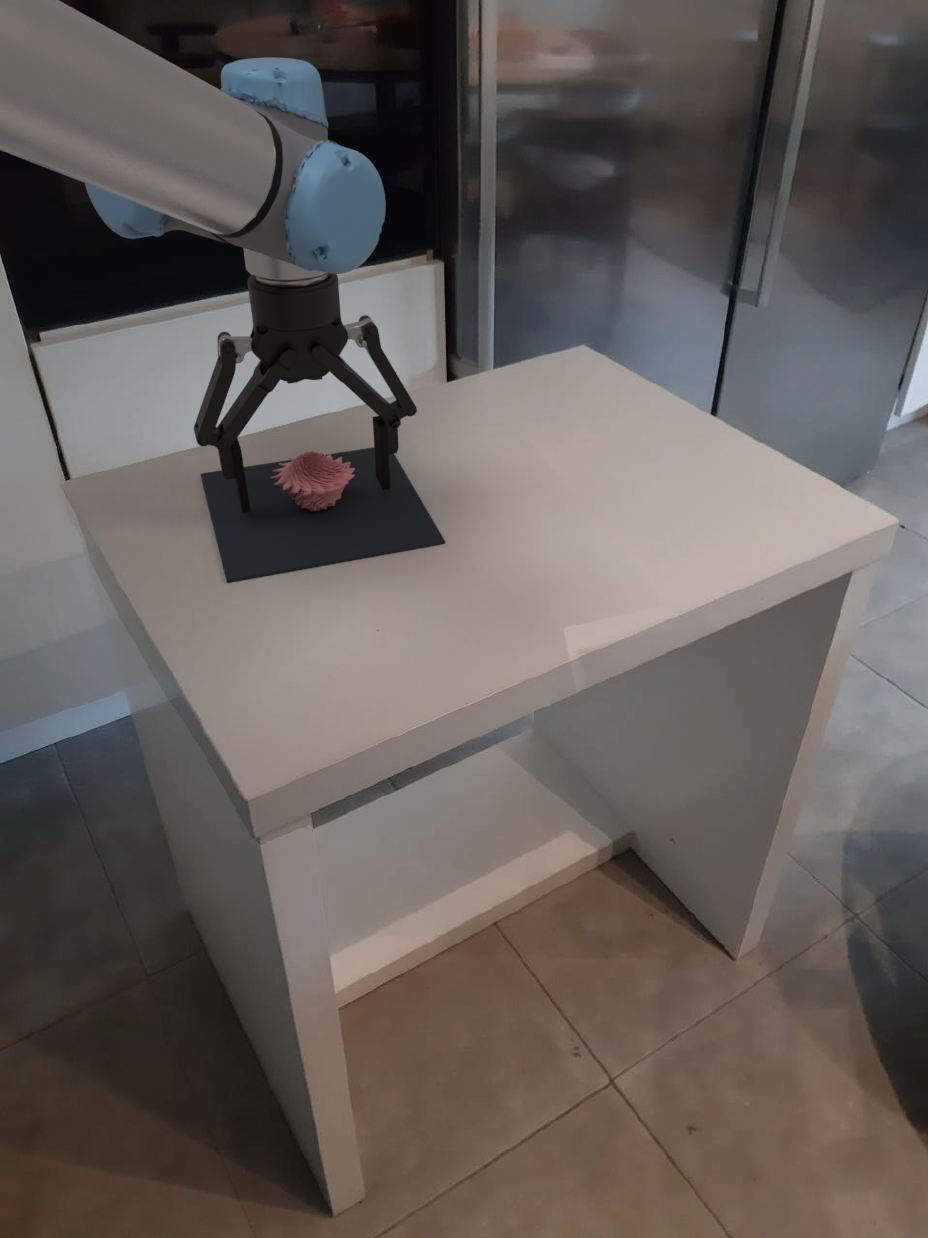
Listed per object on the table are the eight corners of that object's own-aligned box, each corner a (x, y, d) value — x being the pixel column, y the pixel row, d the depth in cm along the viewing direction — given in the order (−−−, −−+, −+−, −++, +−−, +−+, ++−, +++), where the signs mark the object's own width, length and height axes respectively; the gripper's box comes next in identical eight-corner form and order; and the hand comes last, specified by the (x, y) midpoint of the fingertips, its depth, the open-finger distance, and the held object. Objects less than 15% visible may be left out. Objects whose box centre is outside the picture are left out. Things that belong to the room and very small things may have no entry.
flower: (271, 528, 92) (263, 475, 89) (279, 485, 98) (273, 435, 95) (355, 526, 92) (351, 474, 89) (358, 484, 99) (355, 433, 95)
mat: (226, 582, 86) (226, 580, 85) (200, 475, 101) (200, 473, 100) (445, 543, 91) (445, 540, 90) (389, 447, 106) (389, 444, 105)
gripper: (422, 244, 88) (427, 456, 101) (134, 273, 81) (179, 495, 94) (448, 270, 82) (449, 491, 95) (141, 303, 76) (187, 535, 89)
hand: (315, 494), depth 95 cm, fingers open, 13 cm apart
